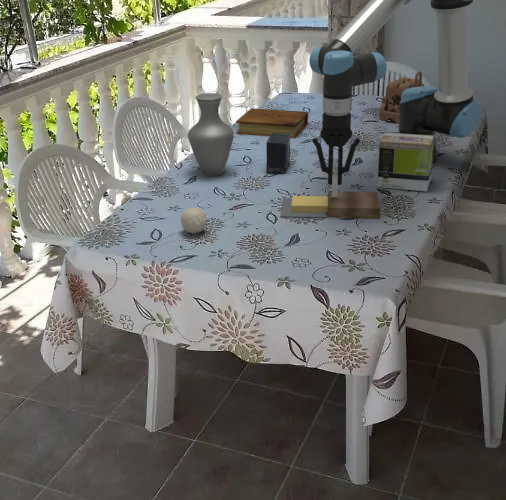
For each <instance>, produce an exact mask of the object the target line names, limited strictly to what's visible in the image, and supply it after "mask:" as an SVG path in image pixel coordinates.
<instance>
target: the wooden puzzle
mask: <svg viewBox="0 0 506 500" xmlns="http://www.w3.org/2000/svg"><path fill="white" fill-rule="evenodd" d="M422 86H425V83H423V72H422V71H417V72H416V73H415V76H414V78H409V77H404V76H403V77H401V76H400V77H399V79H394V80H393V81H389V82H388V83H387V85H386V87H385V96H383V97H382V99H381V101H382V102H381V105H380V107H379V117H378V118H380V120H381V121H385V122H386V121H388V120H393V121H395V122H394V123H395V125H396V124H399V120H400V102H401V97H402V93H403V91H404V90H406V89H409V88H413V87H422ZM380 120H379V121H380ZM393 121H392V122H393ZM385 122H384V123H385ZM388 122H389V121H388ZM386 123H387V122H386Z"/></svg>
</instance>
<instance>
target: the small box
mask: <svg viewBox="0 0 506 500" xmlns="http://www.w3.org/2000/svg"><path fill="white" fill-rule="evenodd" d="M268 137H269V138H268V139H267V140H266V144H265V145H266V146H265V147H266V152H265V153H266V167H265V168H266V171H265V173H267V174H279V175H285V174H286V173H287V170H288V168H289V166H290V164H291V163H290V162H291V138H290V134H283V133H272V134H271V136H268Z"/></svg>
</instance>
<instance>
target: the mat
mask: <svg viewBox="0 0 506 500" xmlns="http://www.w3.org/2000/svg"><path fill="white" fill-rule="evenodd" d="M288 217H307V218H306V219H327V213H313V212H292V197H290V198H286V197H285V198H284V197H282V203H281V210H280V218H283V219H285V218H288Z"/></svg>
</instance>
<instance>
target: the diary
mask: <svg viewBox="0 0 506 500" xmlns="http://www.w3.org/2000/svg"><path fill="white" fill-rule="evenodd" d="M236 124H238V131H237V132H236V134H237V135H245V136H246V135H247V136H256V137H257V136H260V137H270V136H271V134H272V133H283V134H290V139H297V138H298V136H299V135H300V134H301V133H302V132H303V131H304V130H305V128H306V127H307V126H308V124H309V113H308V111H303V110H302V111H301V110H300V111H299V110H285V109H283V110H282V109H270V108H269V109H265V108H254V107H253V108H250V109H249V110H247V111H246V112H245V113H244V114H242V115H241V116H240V117H239V118H238V119H237V120H236Z"/></svg>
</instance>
